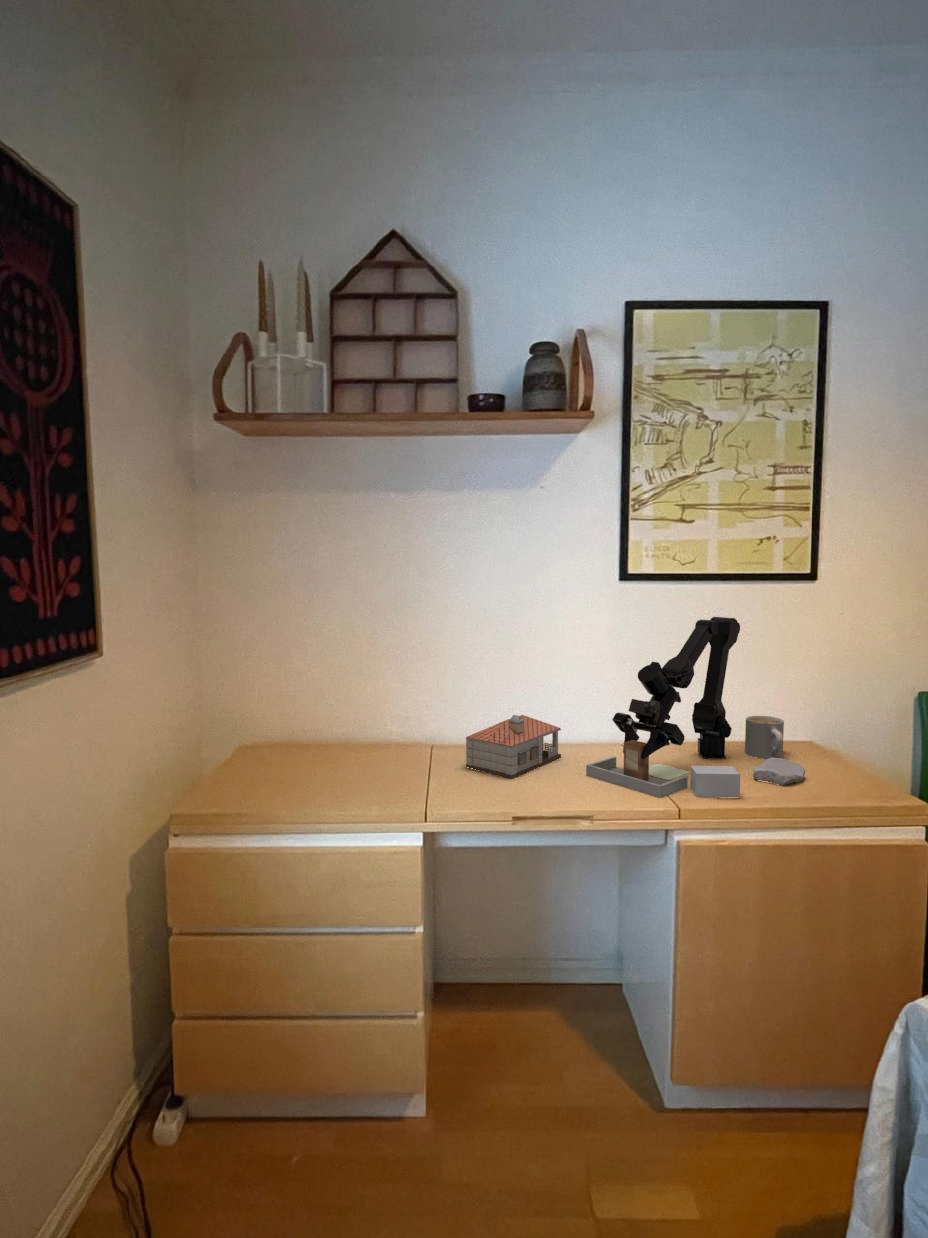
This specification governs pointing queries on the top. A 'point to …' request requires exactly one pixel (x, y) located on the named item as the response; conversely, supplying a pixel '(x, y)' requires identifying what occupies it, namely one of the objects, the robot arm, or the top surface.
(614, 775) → the parts tray
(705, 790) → the greyblue box
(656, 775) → the pad
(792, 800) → the top surface
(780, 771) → the stone block
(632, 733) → the robot arm
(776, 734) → the coffee mug
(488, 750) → the model house
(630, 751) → the walnut box
